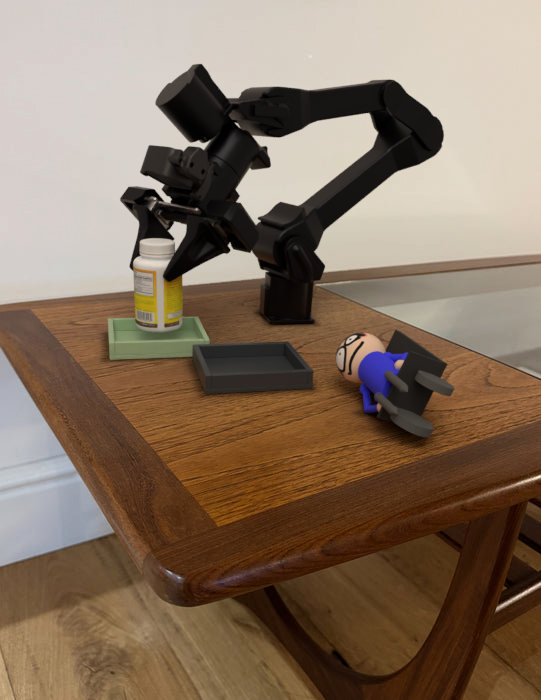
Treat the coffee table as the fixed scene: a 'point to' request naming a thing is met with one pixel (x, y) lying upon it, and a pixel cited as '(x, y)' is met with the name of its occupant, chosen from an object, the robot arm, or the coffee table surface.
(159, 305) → the supplement bottle
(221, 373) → the charcoal tray
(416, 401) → the character figurine
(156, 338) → the sage tray
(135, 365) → the coffee table surface
